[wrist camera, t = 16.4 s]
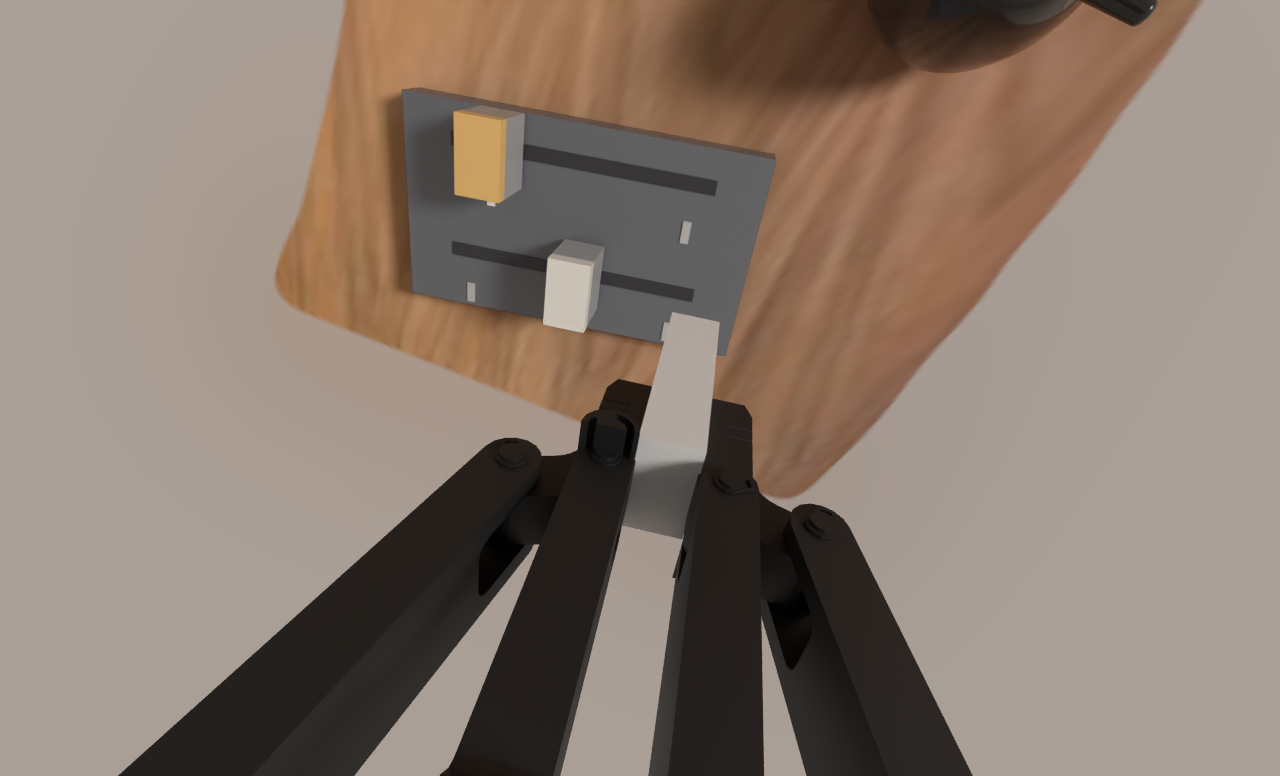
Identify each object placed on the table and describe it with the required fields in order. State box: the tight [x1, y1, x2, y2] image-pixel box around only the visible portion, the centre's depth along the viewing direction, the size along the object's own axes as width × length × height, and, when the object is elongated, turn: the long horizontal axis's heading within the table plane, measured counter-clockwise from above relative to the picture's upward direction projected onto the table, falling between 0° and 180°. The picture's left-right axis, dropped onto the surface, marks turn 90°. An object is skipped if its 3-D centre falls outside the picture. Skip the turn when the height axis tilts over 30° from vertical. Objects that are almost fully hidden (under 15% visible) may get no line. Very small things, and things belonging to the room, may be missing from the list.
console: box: [402, 88, 776, 356], centre depth 44 cm, size 15×26×3 cm, turn 81°
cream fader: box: [543, 239, 605, 333], centre depth 43 cm, size 5×3×5 cm, turn 171°
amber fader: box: [454, 105, 525, 203], centre depth 39 cm, size 5×3×5 cm, turn 171°
